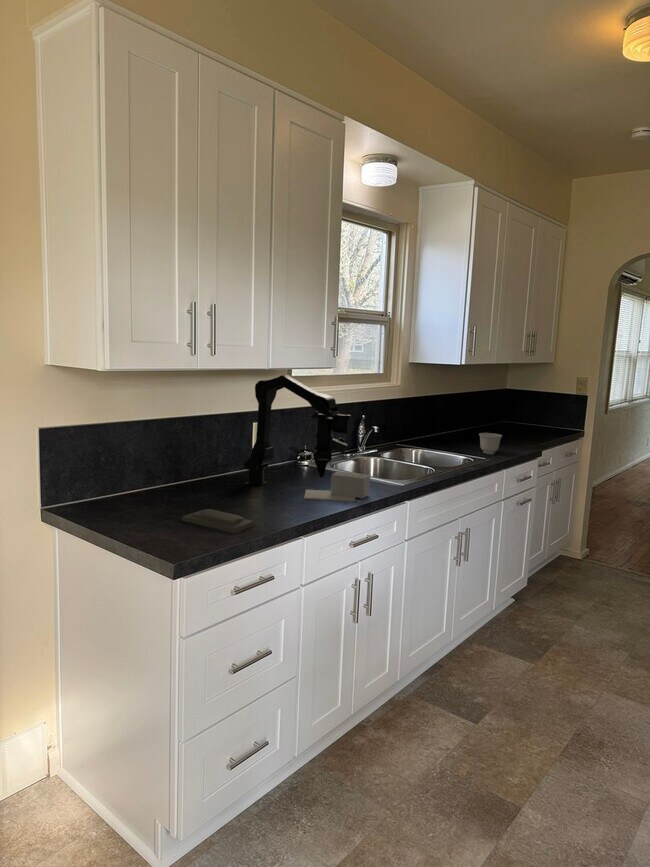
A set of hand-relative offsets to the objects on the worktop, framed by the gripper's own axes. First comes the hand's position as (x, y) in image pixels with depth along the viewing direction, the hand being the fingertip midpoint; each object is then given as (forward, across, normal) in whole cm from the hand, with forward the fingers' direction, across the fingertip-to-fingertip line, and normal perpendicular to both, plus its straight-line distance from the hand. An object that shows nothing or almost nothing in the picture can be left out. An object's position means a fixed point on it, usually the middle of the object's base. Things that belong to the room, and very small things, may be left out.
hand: (322, 474), depth 234 cm
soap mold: (+9, -40, +30) cm, 51 cm away
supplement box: (+4, +5, -4) cm, 7 cm away
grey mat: (+8, 0, -3) cm, 8 cm away
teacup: (+8, +111, -85) cm, 140 cm away
